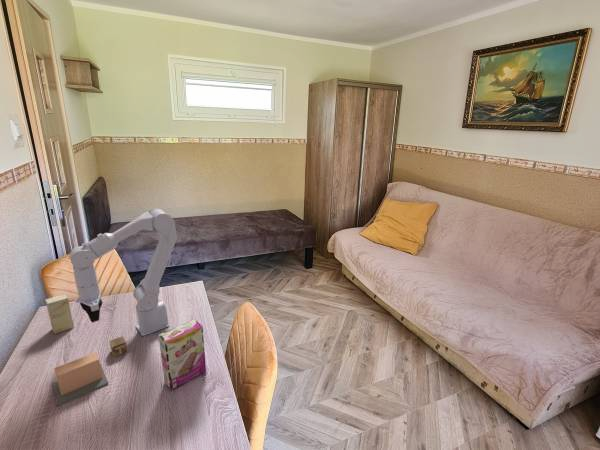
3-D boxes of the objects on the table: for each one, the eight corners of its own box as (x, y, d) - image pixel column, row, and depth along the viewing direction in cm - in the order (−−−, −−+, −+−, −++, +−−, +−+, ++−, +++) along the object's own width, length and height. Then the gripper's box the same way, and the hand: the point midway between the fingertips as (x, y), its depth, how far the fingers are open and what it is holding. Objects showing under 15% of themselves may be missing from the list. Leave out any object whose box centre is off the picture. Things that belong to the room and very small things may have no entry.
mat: (100, 364, 101) (100, 363, 100) (108, 383, 93) (108, 382, 93) (53, 384, 93) (52, 383, 93) (57, 406, 86) (57, 405, 86)
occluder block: (99, 370, 98) (95, 352, 96) (102, 377, 95) (98, 359, 93) (59, 386, 91) (54, 368, 90) (61, 395, 89) (56, 376, 87)
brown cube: (124, 346, 109) (122, 336, 108) (127, 352, 106) (126, 342, 105) (111, 351, 107) (109, 340, 106) (114, 357, 104) (112, 347, 102)
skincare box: (54, 334, 115) (46, 304, 111) (52, 328, 118) (44, 299, 114) (75, 327, 119) (68, 297, 115) (72, 321, 122) (65, 293, 118)
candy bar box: (171, 392, 91) (164, 342, 86) (164, 382, 94) (157, 334, 89) (207, 371, 98) (203, 325, 93) (199, 363, 102) (194, 318, 97)
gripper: (68, 279, 105) (76, 315, 109) (76, 296, 95) (85, 336, 99) (93, 272, 110) (100, 308, 114) (103, 289, 99) (110, 327, 104)
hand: (95, 320), depth 107 cm, fingers closed
